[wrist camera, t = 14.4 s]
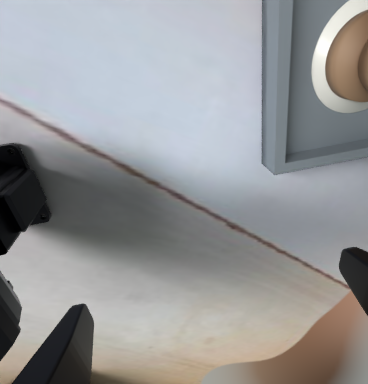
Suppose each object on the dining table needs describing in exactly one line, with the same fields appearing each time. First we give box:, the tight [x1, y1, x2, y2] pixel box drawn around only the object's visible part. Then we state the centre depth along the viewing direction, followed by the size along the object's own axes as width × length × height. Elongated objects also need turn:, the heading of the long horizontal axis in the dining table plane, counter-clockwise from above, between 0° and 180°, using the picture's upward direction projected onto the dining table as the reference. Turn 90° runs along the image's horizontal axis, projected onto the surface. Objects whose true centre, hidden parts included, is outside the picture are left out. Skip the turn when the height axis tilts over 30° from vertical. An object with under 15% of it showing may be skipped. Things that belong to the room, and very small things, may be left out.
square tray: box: [262, 0, 368, 175], centre depth 18 cm, size 14×14×2 cm
